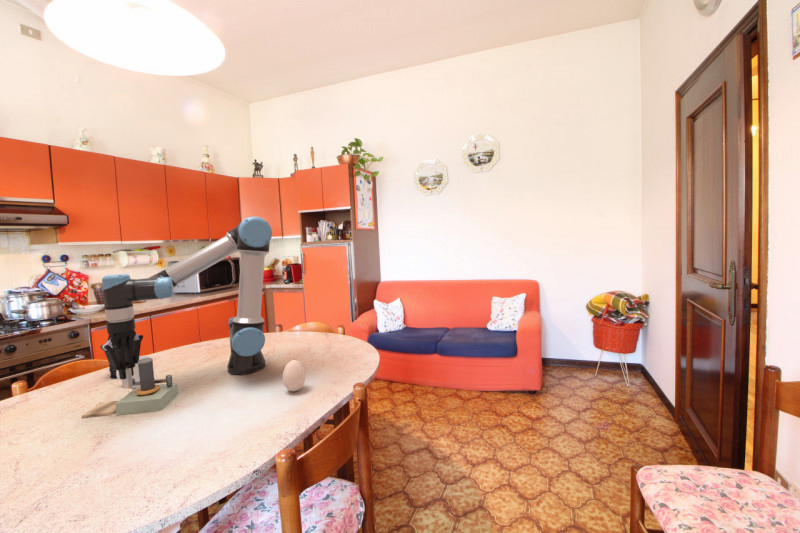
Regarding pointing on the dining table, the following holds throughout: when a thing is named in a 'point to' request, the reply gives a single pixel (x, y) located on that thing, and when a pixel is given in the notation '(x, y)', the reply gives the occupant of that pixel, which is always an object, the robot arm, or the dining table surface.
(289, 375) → the egg
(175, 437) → the dining table surface
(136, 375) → the cup
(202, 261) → the robot arm
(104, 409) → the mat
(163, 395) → the socket block
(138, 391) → the plug
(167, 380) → the clip
